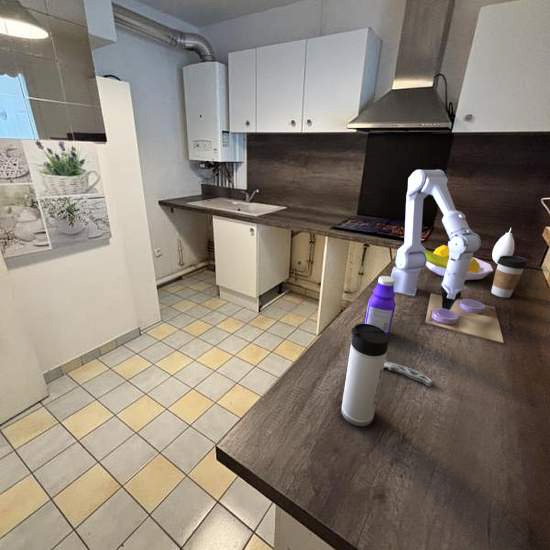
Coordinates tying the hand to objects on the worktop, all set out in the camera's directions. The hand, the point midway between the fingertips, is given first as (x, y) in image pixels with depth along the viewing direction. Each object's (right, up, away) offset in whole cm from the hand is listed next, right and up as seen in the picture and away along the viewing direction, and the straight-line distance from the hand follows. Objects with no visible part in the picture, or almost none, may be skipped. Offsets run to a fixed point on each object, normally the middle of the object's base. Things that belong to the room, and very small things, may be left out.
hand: (445, 309), depth 96 cm
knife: (-28, -12, -25) cm, 39 cm away
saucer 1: (-2, -2, -3) cm, 4 cm away
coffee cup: (+30, +4, +15) cm, 33 cm away
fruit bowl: (+22, +12, +34) cm, 42 cm away
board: (+5, -2, 0) cm, 6 cm away
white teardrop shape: (+53, +25, +43) cm, 73 cm away
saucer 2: (+11, 0, +4) cm, 12 cm away
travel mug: (-40, -17, -37) cm, 57 cm away
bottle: (-26, -6, -10) cm, 29 cm away
